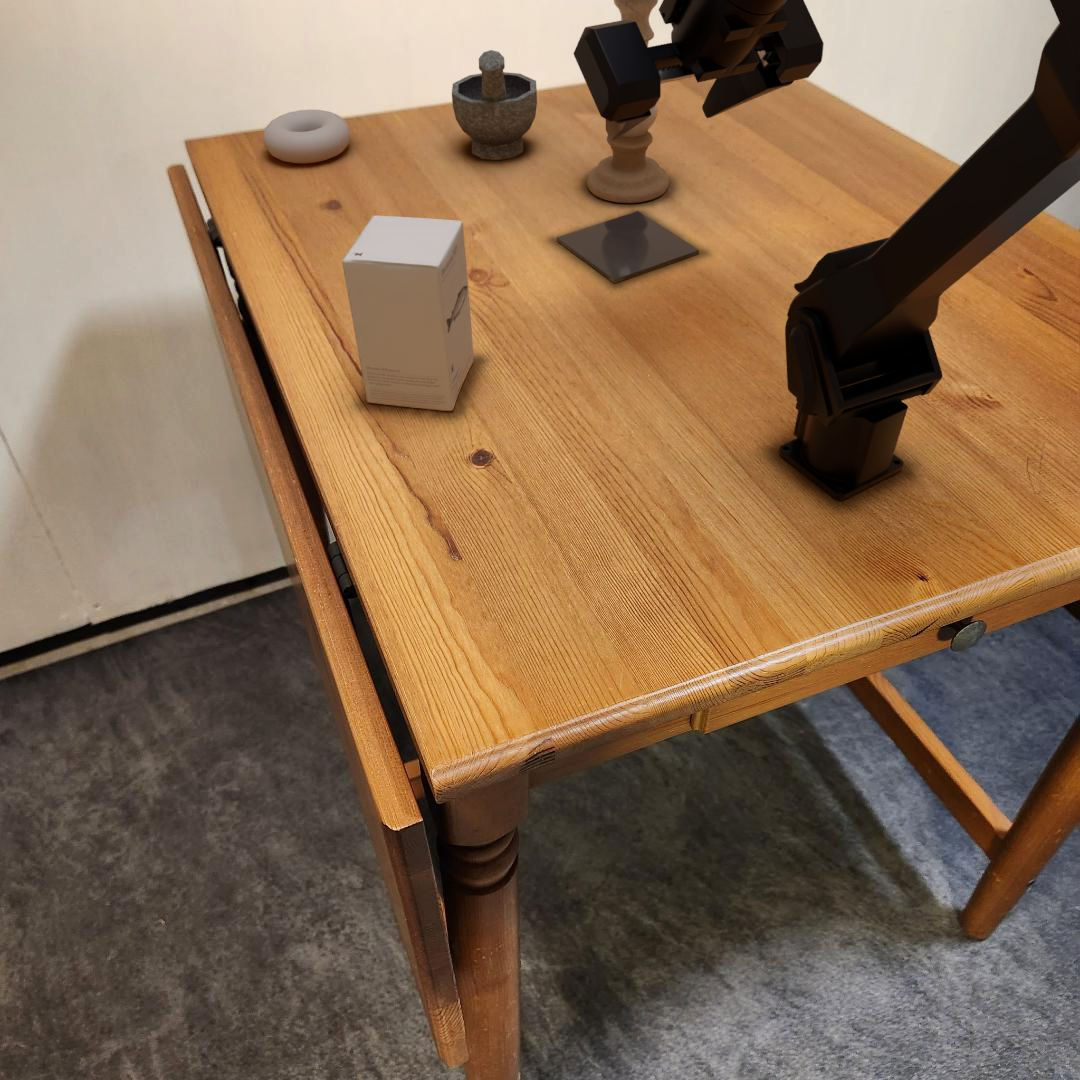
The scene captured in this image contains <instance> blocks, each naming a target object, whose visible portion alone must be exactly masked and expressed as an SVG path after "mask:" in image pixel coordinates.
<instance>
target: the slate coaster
mask: <svg viewBox="0 0 1080 1080" xmlns="http://www.w3.org/2000/svg"><path fill="white" fill-rule="evenodd" d="M556 242H558V243H559V244H560V245H561V246H563V247H564V248H566V249H567V250H568V251H569V252H571V253H572V254H574V256H576V257H577V258H578V259H580V260H582V261H583V262H584V263H586V264H588V265H589V267H591V268H593V269H594V270H595V271H597V272H598V273H599V274H601V275H602V276H604V277H605V278H606V279H607V280H609V281H610V282H611V283H613V284H617V283H620V282H622V281H625V280H628V279H632V278H633V277H636V276H637V277H638V276H639V275H642V274H646V273H649V272H651V271H654V270H657V269H660V268H663V267H665V266H668V265H671V264H673V263H676V262H679V261H682V260H684V259H688V258H692V257H693V256H696V255H699V254H700V249H698V248H697V247H695V246H694V245H692V244H690V243H689V242H687V241H686V240H684V239H683V238H681V237H680V236H678V235H676V234H675V233H673V232H672V231H670V230H669V229H667V228H666V227H664V226H662V225H661V224H659V223H658V222H657V221H654V220H653V219H651V218H650V217H649V216H646V214H644V213H642V212H640V211H639V210H637V211H634V212H630V213H628V214H624V215H622V216H618V217H615V218H612V219H609V220H606V221H602V222H600V223H597V224H594V225H591V226H588V227H584V228H582V229H579V230H575V231H572V232H569V233H566V234H562V235H559V236H556Z"/></svg>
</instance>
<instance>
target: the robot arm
mask: <svg viewBox="0 0 1080 1080" xmlns="http://www.w3.org/2000/svg"><path fill="white" fill-rule="evenodd" d="M1049 2H1050V5H1051V7H1052V9H1053V11H1054V13H1055V16H1056V18H1057V21H1058V22H1059V23H1058V24H1057V25H1056V27H1055V28H1054V29H1053V31H1052V33H1051V34H1050V36H1049V37H1048V39H1047V40H1046V42H1045V43H1044V45H1043V48H1042V50H1041V55H1040V59H1039V64H1038V68H1037V74H1036V76H1035V80H1034V81H1035V82H1034V86H1033V90H1032V92H1031V93H1030V95H1029V96H1028V97H1027V99H1026V100H1025V101H1024V102H1023V103H1022V104H1021V105H1019V107H1018V108H1017V109H1016V110H1015V111H1014V112H1013V113H1012V114H1011V115H1010V116H1008V118H1007V119H1006V120H1005V121H1004V122H1003V123H1002V124H1001V125H1000V126H999V127H998V128H997V129H996V130H994V132H993V133H992V134H991V135H990V136H989V137H988V138H987V139H986V140H985V141H984V142H983V143H982V144H981V145H980V146H979V147H978V148H977V149H976V150H975V151H974V152H973V153H972V154H971V155H970V156H969V157H968V158H967V159H966V160H965V161H964V162H963V163H962V164H961V165H960V166H959V167H958V168H957V169H955V171H954V172H953V173H952V174H951V175H950V176H949V177H948V178H946V180H945V181H944V182H943V183H942V184H941V185H940V186H939V187H938V188H937V189H936V190H935V191H934V192H933V193H932V194H931V195H929V197H928V198H927V199H926V200H925V201H924V202H923V203H922V204H921V205H920V206H918V208H917V209H916V210H915V211H914V212H913V213H912V214H911V215H910V216H909V217H908V218H907V219H906V220H905V221H904V222H903V223H902V224H901V225H900V226H899V227H898V228H897V229H896V230H895V231H894V232H893V233H892V234H891V235H890V236H889V237H885V238H881V239H877V240H873V241H868V242H865V243H861V244H858V245H853V246H850V247H846V248H841V249H838V250H834V251H830V252H827V253H826V254H825V255H823V256H822V257H821V258H820V259H819V260H818V261H817V262H816V264H815V265H814V267H813V269H812V271H811V273H809V275H808V276H807V278H805V279H804V280H802V281H801V282H797V283H794V285H793V288H794V290H795V291H797V293H798V294H797V295H795V296H794V297H793V299H792V301H791V302H790V304H789V307H788V310H787V313H786V317H787V320H786V322H785V327H784V339H785V341H784V342H785V362H786V363H785V364H786V382H787V383H786V384H787V391H788V392H789V393H790V394H791V395H792V396H793V397H794V398H795V401H796V404H795V410H797V415H796V419H795V424H794V429H793V436H794V437H795V439H792V440H790V441H788V442H786V443H783V444H781V445H780V446H779V448H778V449H779V450H778V455H780V456H781V457H782V458H783V459H785V460H786V461H787V462H788V463H790V464H791V465H792V466H793V467H795V468H796V469H797V470H798V471H800V472H801V473H802V474H804V475H805V476H806V477H808V479H810V480H811V481H813V482H814V483H815V484H816V485H818V486H819V487H820V488H821V489H822V490H824V491H826V493H828V494H829V495H830V496H831V497H833V498H834V499H836V500H841V501H843V500H845V499H847V498H849V497H851V496H853V495H855V494H857V493H859V492H861V491H863V490H865V489H867V488H869V487H871V486H873V485H874V484H877V483H878V482H881V481H883V480H885V479H886V478H888V477H891V476H892V475H895V474H896V473H899V472H901V471H902V470H903V468H904V465H905V463H904V461H903V460H902V459H901V458H899V456H897V455H896V454H894V453H895V451H896V447H897V444H898V441H899V437H900V436H901V432H902V428H903V425H904V422H905V419H906V415H907V412H908V408H909V405H908V404H906V403H905V402H903V401H906V400H908V399H913V398H915V397H918V396H922V397H923V396H926V395H929V394H931V392H932V391H933V390H934V388H936V386H937V385H938V384H939V383H940V381H941V380H942V378H943V372H942V368H941V365H940V362H939V358H938V355H937V351H936V348H935V345H934V342H933V339H932V335H931V332H930V329H929V328H930V327H931V326H932V325H933V323H934V322H935V321H936V320H937V317H938V314H939V313H938V312H939V304H940V298H941V296H942V295H943V293H945V292H946V291H947V290H948V289H949V288H951V287H952V286H953V285H954V284H955V283H957V282H958V281H959V280H960V279H962V278H963V277H964V276H965V275H966V274H968V273H969V272H970V271H971V270H973V269H974V268H975V267H976V266H978V265H979V264H980V263H981V262H982V261H984V260H985V259H986V258H987V257H989V256H990V255H991V254H992V253H994V251H996V250H997V249H998V248H1000V246H1002V245H1003V244H1004V243H1006V242H1007V241H1008V240H1009V239H1010V238H1011V237H1013V236H1014V235H1015V234H1016V233H1017V232H1019V231H1020V230H1022V229H1023V228H1024V227H1026V226H1027V224H1029V223H1030V222H1031V221H1032V220H1034V219H1035V218H1036V217H1037V216H1039V215H1040V214H1041V213H1042V212H1043V211H1044V210H1046V209H1047V208H1048V207H1050V206H1051V205H1052V204H1054V202H1056V201H1057V200H1058V199H1059V198H1061V197H1062V196H1063V195H1064V194H1066V192H1068V191H1069V190H1070V189H1072V188H1073V187H1074V186H1075V185H1076V184H1078V183H1079V182H1080V0H1049ZM658 12H659V14H660V17H661V18H662V21H663V23H664V25H669V24H670V25H671V27H672V30H671V32H670V39H671V42H667V43H663V44H656V45H653V46H648V47H647V45H646V43H645V41H644V38H643V36H642V34H641V32H640V29H639V27H638V25H637V23H636V21H631V20H621V19H620V20H617V21H610V22H605V23H601V24H594V25H589V26H585V27H584V29H583V31H582V33H581V35H580V37H579V40H578V42H577V44H576V47H575V49H574V51H573V56H574V59H575V61H576V63H577V65H578V67H579V70H580V72H581V75H582V78H583V79H584V82H585V84H586V86H587V89H588V90H589V93H590V95H591V97H592V100H593V102H594V104H595V106H596V108H597V111H598V113H599V115H600V117H601V118H603V119H605V131H606V133H607V136H609V138H610V140H615V139H617V138H619V137H620V136H622V135H624V134H625V133H627V132H628V131H629V130H631V129H632V128H634V127H635V126H637V125H638V124H639V123H641V122H643V121H644V120H645V119H647V118H648V117H650V116H651V112H650V109H651V108H653V107H654V106H655V105H656V103H657V104H658V101H659V100H660V98H661V96H662V95H661V94H662V93H661V90H662V88H661V86H662V85H661V84H667V83H671V82H675V81H680V80H685V79H689V78H695V80H696V83H703V82H707V81H711V80H714V82H713V84H712V86H711V87H710V89H709V91H708V92H707V95H706V97H705V99H704V101H703V104H702V106H701V109H702V112H703V114H704V116H705V118H706V119H710V118H713V117H715V116H717V115H721V114H722V113H724V112H726V111H727V112H728V111H729V110H732V109H734V108H736V107H739V106H741V105H743V104H746V103H748V102H750V101H752V100H755V99H757V98H760V97H762V96H765V95H768V94H769V93H773V92H775V91H777V90H779V89H782V88H785V87H788V86H791V85H792V84H793V83H794V82H795V81H799V80H803V79H804V80H805V79H809V77H811V75H812V74H813V73H814V72H815V70H816V69H817V68H818V67H819V65H820V64H821V62H822V60H823V56H824V47H825V46H824V45H825V44H824V41H823V38H822V37H821V34H820V32H819V30H818V28H817V27H816V26H817V25H816V24H815V21H814V19H813V17H812V15H811V12H810V11H809V9H808V6H807V4H806V2H805V0H662V2H661V4H660V6H659V8H658Z"/></svg>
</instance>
